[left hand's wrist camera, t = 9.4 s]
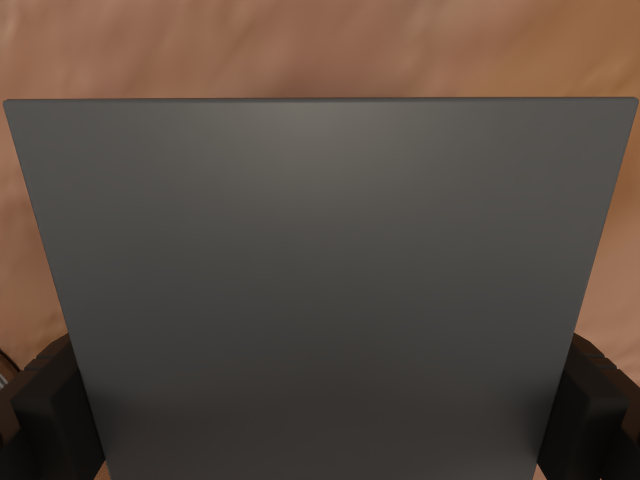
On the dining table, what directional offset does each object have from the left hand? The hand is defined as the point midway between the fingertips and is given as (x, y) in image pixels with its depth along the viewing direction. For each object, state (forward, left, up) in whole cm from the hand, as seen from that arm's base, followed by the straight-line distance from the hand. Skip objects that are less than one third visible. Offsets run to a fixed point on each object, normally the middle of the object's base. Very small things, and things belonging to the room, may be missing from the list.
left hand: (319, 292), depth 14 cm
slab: (-16, -29, 0) cm, 33 cm away
